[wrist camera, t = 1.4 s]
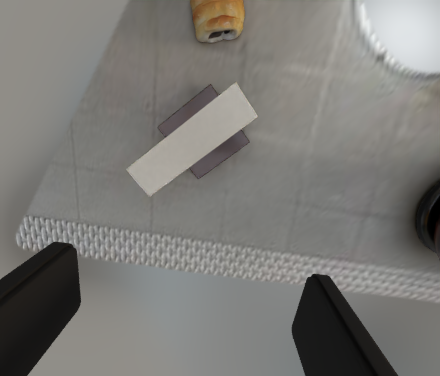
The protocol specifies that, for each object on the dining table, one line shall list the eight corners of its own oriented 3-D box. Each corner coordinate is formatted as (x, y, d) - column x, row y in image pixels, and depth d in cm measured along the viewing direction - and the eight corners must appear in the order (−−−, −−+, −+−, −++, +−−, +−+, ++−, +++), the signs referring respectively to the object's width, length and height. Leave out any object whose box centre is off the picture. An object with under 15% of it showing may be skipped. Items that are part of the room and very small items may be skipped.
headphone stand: (159, 127, 33) (115, 130, 19) (211, 85, 31) (201, 56, 17) (198, 177, 35) (183, 211, 22) (248, 141, 33) (266, 154, 20)
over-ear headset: (153, 152, 30) (112, 170, 19) (234, 89, 27) (242, 66, 16) (173, 177, 31) (145, 207, 20) (253, 118, 28) (272, 115, 17)
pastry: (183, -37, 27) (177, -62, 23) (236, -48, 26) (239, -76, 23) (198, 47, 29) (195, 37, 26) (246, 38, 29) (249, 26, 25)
